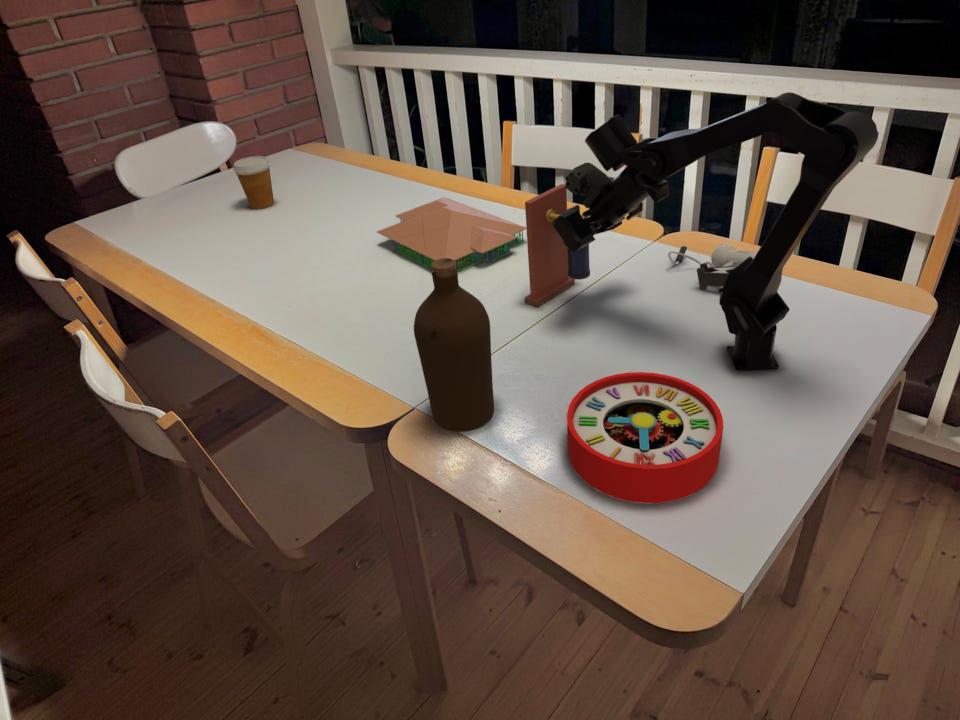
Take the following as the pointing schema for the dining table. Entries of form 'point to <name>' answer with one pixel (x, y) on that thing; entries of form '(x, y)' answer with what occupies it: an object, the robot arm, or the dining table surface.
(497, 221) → the house
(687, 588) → the dining table surface
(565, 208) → the red upright board
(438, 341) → the olive oil
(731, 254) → the clip-on lamp
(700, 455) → the toy clock
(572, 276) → the navy blue cylinder
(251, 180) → the glass of beer
